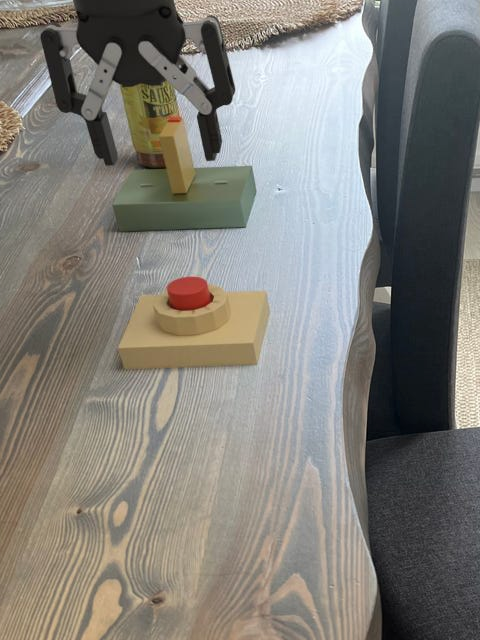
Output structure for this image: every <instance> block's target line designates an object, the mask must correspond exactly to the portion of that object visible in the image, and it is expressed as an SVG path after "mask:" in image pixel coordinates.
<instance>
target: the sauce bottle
mask: <svg viewBox="0 0 480 640" xmlns="http://www.w3.org/2000/svg"><path fill="white" fill-rule="evenodd" d="M118 85H119V88H120V94H121V97H122V101H123V106H124V112H125V115H126V119H127V124H128V129H129V133H130V138H131V143H132V147H133V149H134V151H135V155H136V160H137V162H138V163H139V164H140V166H143V167H148V168H150V169H162V168H166V165H165V161H164V156H163V152H162V148H161V144H160V140H159V135H160V134H161V132H162V130H163V129H164V127H165V125H166V123H167V122H168V119H169V117H181V115H180V110H179V106H178V100H177V95H176V89H175V88H174V87H173V86H172V85H171V84H170V83H169V82H168V81H165V82H163V83H162V84H161V85H159V86H150V85H145V84H138V85H136V86H133V87H122V85H121V84H118Z"/></svg>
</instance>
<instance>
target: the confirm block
mask: <svg viewBox="0 0 480 640" xmlns="http://www.w3.org/2000/svg"><path fill="white" fill-rule="evenodd" d="M207 284H208V288H209V293H210V297H211V303H210V304H208V305H207V306H205V307H203V308H200V309H196V310H191V311H179V310H175V309H172V307H171V304H170V300H169V296H168V292H167V290H165V291H164V292H162V293H160V294H141V295H140V296H139V299H138V300H137V303H136V305H135V307H134V310H133V312H132V315H131V316H130V319H129V322H128V324H127V326H126V328H125V330H124V333H123V334H122V337H121V340H120V342H119V344H118V347H117V350H118V353H119V357H120V360H121V363H122V367H123V369H124V370H150V369H174V368H175V369H176V368H201V367H204V368H205V367H229V366H232V367H233V366H255V365H256V366H257V365H258V364H259V361H260V356H261V353H262V352H261V351H262V347H263V343H264V339H265V335H266V331H267V327H268V323H269V319H270V314H271V309H270V303H269V298H268V292H267V290H247V291H225V290H224V289H223V288H222V287H221V286H218V285H214V284H211V283H207Z"/></svg>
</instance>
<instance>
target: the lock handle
mask: <svg viewBox="0 0 480 640" xmlns="http://www.w3.org/2000/svg"><path fill="white" fill-rule="evenodd" d="M186 128H187V127H186V124H185V120H184V118H182V116H180V117H169V119H168V122H167V123H166V125H165V127H164V129H163V130H162V132H161V134H160V135H159V140H160V144H161V148H162V152H163V156H164V161H165V165H166V167H165V169H167V173H168V178H169V182H170V186H171V190H172V194H177V193H187V191H188V189H189V187H190V185H191V183H192V180H193V178H194V176H195V169H194V168H195V165H194V160H193V156H192V152H191V147H190V143H189V142H190V141H189V138H188V137H189V136H188V134H187V129H186Z"/></svg>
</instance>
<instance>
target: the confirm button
mask: <svg viewBox="0 0 480 640" xmlns="http://www.w3.org/2000/svg"><path fill="white" fill-rule="evenodd" d="M208 284H209V283H208V281H207V280H206V279H204V278H203V277H200V276H184V277H179V278H176V279H174V280H172V281H171V282H169V283H168V284H167V286H166V291H167V292H168V296H169V300H170V304H171V307H172V309H175V310H179V311H191V310H196V309H200V308H203V307H205V306H207V305H208V304H210V303H211V297H210V293H209V288H208Z"/></svg>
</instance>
